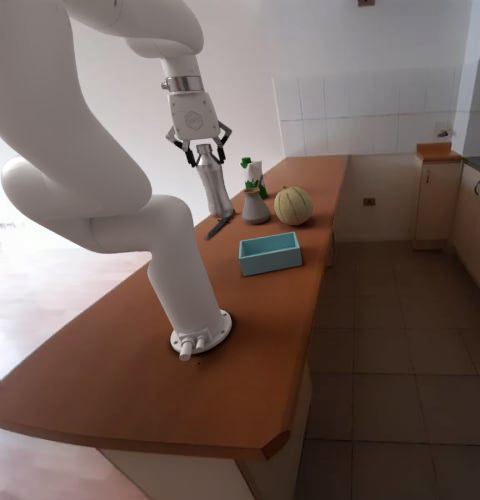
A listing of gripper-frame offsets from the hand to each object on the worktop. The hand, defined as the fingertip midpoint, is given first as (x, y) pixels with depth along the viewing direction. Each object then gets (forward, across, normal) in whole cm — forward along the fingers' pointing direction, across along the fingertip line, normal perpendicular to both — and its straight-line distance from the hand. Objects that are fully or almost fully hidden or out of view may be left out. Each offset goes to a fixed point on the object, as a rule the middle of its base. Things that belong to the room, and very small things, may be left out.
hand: (208, 164), depth 74 cm
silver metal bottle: (+15, 0, 0) cm, 15 cm away
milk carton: (+29, +9, +58) cm, 65 cm away
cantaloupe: (+30, +23, +20) cm, 42 cm away
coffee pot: (+30, +10, +34) cm, 46 cm away
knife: (+30, -6, +30) cm, 43 cm away
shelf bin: (+30, +11, -5) cm, 32 cm away
